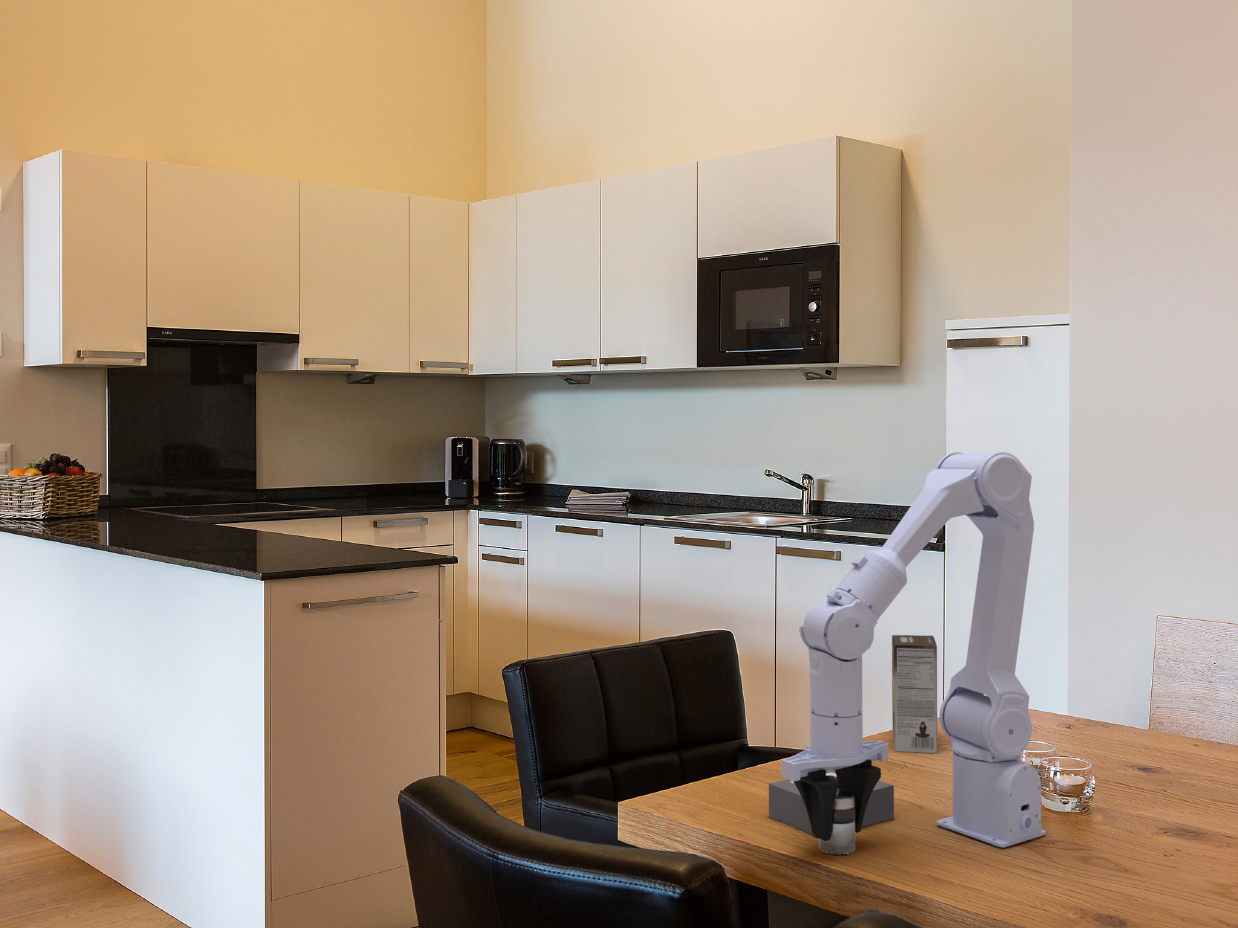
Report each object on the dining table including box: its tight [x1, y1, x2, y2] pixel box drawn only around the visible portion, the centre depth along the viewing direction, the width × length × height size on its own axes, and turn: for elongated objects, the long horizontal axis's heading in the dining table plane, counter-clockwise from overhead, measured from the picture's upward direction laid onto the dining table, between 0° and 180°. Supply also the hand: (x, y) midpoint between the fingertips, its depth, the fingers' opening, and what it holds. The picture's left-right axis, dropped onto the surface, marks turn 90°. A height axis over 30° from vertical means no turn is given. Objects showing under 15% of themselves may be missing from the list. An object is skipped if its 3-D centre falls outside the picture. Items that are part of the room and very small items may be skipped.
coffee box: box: [891, 634, 938, 754], centre depth 164 cm, size 9×6×16 cm
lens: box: [818, 789, 856, 856], centre depth 120 cm, size 4×4×6 cm
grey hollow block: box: [768, 770, 895, 836], centre depth 131 cm, size 9×12×4 cm
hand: (836, 833), depth 120 cm, fingers closed on lens, 4 cm apart
